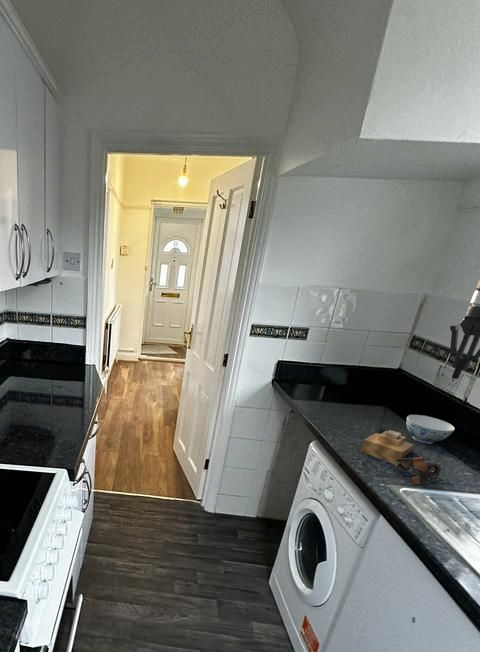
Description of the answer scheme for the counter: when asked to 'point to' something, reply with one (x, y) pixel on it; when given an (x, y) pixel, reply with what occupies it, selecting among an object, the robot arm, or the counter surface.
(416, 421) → the chinaware
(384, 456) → the stepped wooden block
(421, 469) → the brown toy vehicle
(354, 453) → the counter surface
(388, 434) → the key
